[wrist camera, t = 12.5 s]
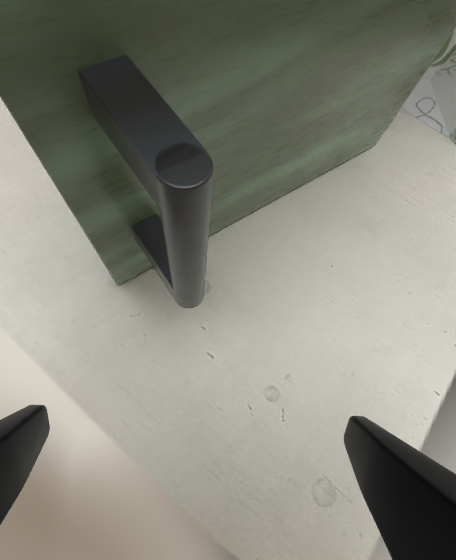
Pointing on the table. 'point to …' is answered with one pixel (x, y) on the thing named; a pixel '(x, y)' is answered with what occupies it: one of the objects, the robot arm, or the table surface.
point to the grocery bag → (437, 92)
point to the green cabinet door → (202, 108)
